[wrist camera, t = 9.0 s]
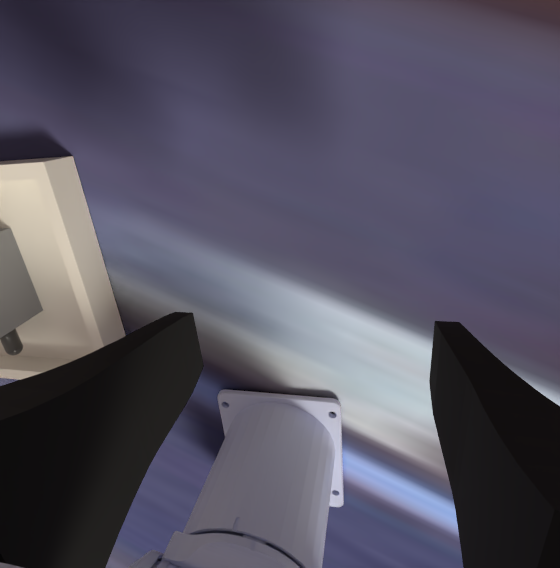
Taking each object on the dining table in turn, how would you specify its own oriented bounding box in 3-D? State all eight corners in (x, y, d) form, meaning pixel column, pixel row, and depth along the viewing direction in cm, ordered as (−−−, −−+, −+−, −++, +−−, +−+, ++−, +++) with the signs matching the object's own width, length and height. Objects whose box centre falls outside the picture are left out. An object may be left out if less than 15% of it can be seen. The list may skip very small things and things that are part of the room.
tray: (135, 368, 27) (117, 388, 25) (-26, 356, 30) (-52, 373, 28) (72, 155, 21) (43, 162, 19) (-118, 170, 24) (-159, 176, 23)
